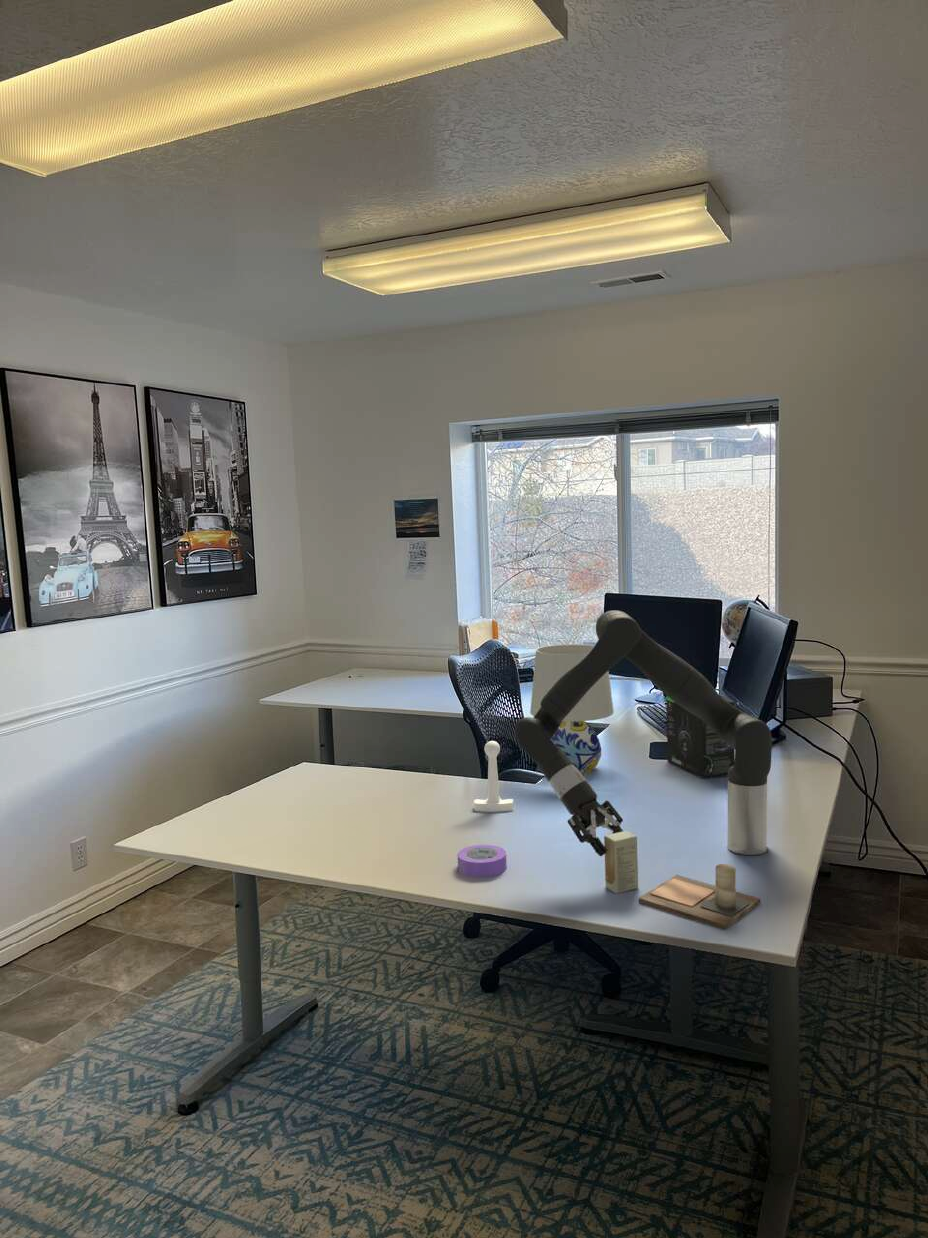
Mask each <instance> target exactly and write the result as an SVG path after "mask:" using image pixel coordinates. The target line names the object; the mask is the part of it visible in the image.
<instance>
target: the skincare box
mask: <svg viewBox="0 0 928 1238" xmlns="http://www.w3.org/2000/svg"><path fill="white" fill-rule="evenodd" d="M603 839H604V842H603V845H604V846H605V848H606V849H607V852H606V853H605V854H604V875H605V888H607V889H608V890H609V891H611V892H613V893H614V894H619V893H624V892H627V891H631V890H634V889H639V867H638V866H639V865H638V862H639V861H638V836H637V835H635V834H633V833H631V832H630V831H628V830H623V831H622V832H617V833H610V834H609V833H608V834H606V835H605V834H604V835H603Z"/></svg>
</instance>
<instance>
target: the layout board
mask: <svg viewBox="0 0 928 1238" xmlns="http://www.w3.org/2000/svg"><path fill="white" fill-rule="evenodd" d="M736 871H737V870H736V867H735V866H734V865H732V864H727V863H720V864H719V863H718V864H717V865H716V866H715V884H710V883H707V882H704V881H700V880H696V879H693V878H690V877H686V876H683V875H679V874H675V875H674V876H672V877H671V878H669V879H667V880H666V881H664V882H662V883H661V884H659V885H657V886H656V887H654V888H652V889H651V890H649V891H648V892H646V893H645V894H642V895H641V896H639V897H638V903H640V904H643V905H646V906H649V907H653V908H655V909H659V910H662V911H664V912H668V913H672V914H674V915H677V914H678V916H680V915H681V916H680V917H683V916H684V918H686V917H687V918H686V919H690V920H694V921H696V922H699V923H702V924H705V925H708V926H712V927H715V928H718V929H722V930H723V931H725V930H727V929H728V928H729V927H731V926H732V925H734V924H735V923H736V922H737V921H739V920H741V918H743V917H744V916H746V915H747V914H748V913H750V912H751V911H752V910H754V909H755V908H756V907H758V906H759V905H761V902H762V901H761V898H760V897H756V896H753V895H749V894H745V893H743V892H739V891H736V884H737V883H736V880H737V879H736Z"/></svg>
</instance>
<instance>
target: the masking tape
mask: <svg viewBox="0 0 928 1238" xmlns="http://www.w3.org/2000/svg"><path fill="white" fill-rule="evenodd" d="M507 867H508V865H507V851H506V850H505V849H504V848H503V847H501V846H497V845H492V844H475V845H470V846H466V847H464V848H462V849H460V850H459V851H458V853H457V870H458V872H459V873H461V874H462V875H464V876H466V877H471V878H490V877H491V878H492V877H495V876H499V875H501V874H503V873H505V872H506V870H507V869H508V868H507Z"/></svg>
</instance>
